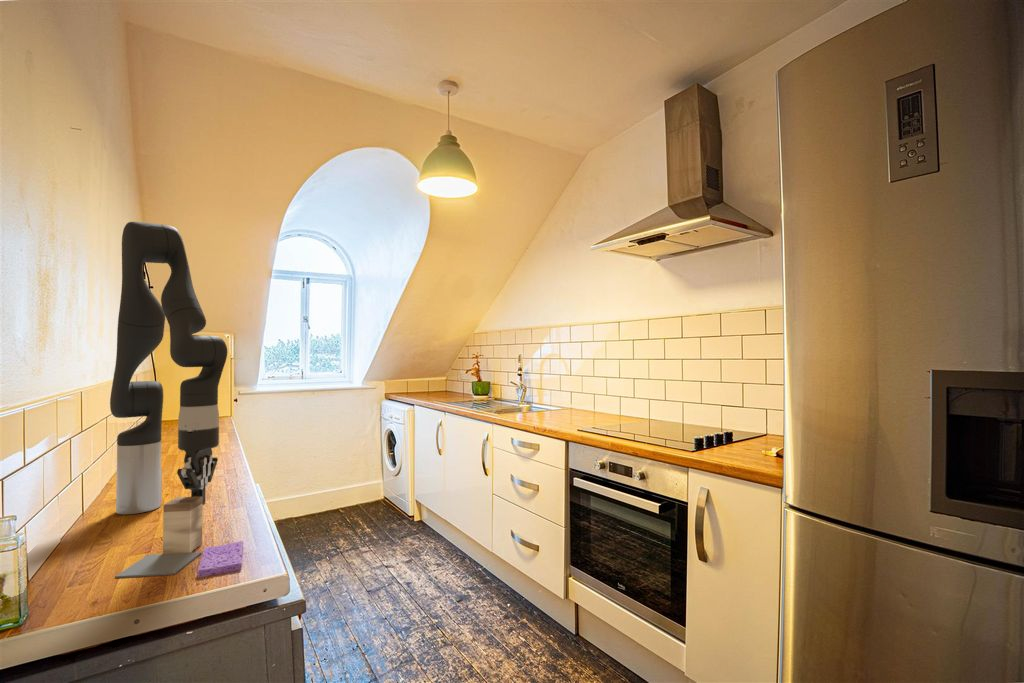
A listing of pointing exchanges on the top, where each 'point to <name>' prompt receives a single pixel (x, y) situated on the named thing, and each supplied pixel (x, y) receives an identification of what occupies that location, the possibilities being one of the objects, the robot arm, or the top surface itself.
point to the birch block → (182, 524)
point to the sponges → (221, 559)
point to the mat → (159, 565)
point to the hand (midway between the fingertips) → (198, 506)
